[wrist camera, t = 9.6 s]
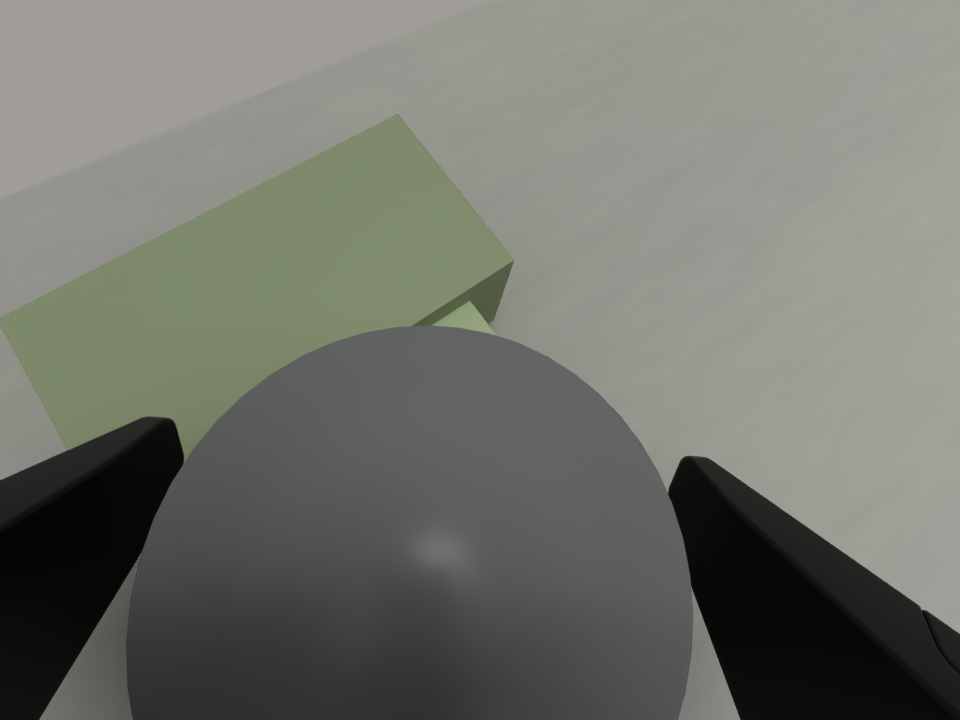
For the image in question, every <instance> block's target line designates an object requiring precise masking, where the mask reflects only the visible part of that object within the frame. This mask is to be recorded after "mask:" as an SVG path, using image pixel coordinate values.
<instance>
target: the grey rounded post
mask: <svg viewBox="0 0 960 720" xmlns="http://www.w3.org/2000/svg"><path fill="white" fill-rule="evenodd" d="M692 624H693V608H692V594H691V581H690V572H689V567H688V562H687V556H686V551H685V546H684V540H683V537H682V533H681V530H680V527H679V524H678V521H677V517H676V514H675V511H674V508H673V505H672V502H671V500H670V498H669V495H668V493H667V491H666V489H665V486H664V484H663V482H662V480H661V477H660V475H659V473H658V471H657V469H656V468H655V466H654V464H653V463H652V461H651V459H650V457H649V456H648V454H647V452H646V451H645V449H644V447H643V446H642V444H641V442H640V441H639V440H638V438H637V437H636V436H635V434H634V433H633V432H632V431H631V429H630V428H629V427H628V425H627V424H626V423H625V421H624V420H623V419H622V417H621V416H620V415H619V414H618V413H617V412H616V411H615V410H614V409H613V408H612V407H611V406H610V405H609V404H608V403H607V402H606V401H605V400H604V399H603V397H602V396H601V395H600V394H599V393H597V392H596V391H595V390H594V389H593V388H591V387H590V386H589V385H588V384H586V383H585V382H584V381H583V380H581V379H580V378H579V377H578V376H577V375H575V374H574V373H573V372H571V371H569V370H568V369H566V368H565V367H563V366H562V365H560V364H558V363H557V362H555V361H554V360H552V359H550V358H549V357H547V356H545V355H543V354H541V353H539V352H537V351H534V350H532V349H530V348H528V347H526V346H524V345H522V344H520V343H517V342H514V341H511V340H508V339H505V338H502V337H499V336H495V335H492V334H489V333H484V332H479V331H474V330H469V329H464V328H458V327H444V326H429V325H425V326H407V327H393V328H388V329H382V330H377V331H371V332H365V333H361V334H358V335H355V336H352V337H348V338H345V339H342V340H339V341H335V342H332V343H330V344H328V345H325V346H323V347H321V348H319V349H316V350H314V351H312V352H309V353H307V354H305V355H303V356H301V357H299V358H297V359H296V360H294V361H292V362H291V363H289V364H287V365H285V366H284V367H282V368H280V369H279V370H277V371H275V372H274V373H272V374H271V375H269V376H268V377H267V378H265V379H264V380H263V381H261V382H260V383H259V384H257V385H256V386H255V387H254V388H252V389H251V390H250V391H248V392H247V393H246V394H244V395H243V396H242V397H241V398H240V399H239V400H238V401H237V402H236V403H235V404H234V405H233V406H232V407H231V408H230V409H229V410H227V411H226V412H225V413H224V414H223V415H222V416H221V417H220V418H219V419H218V420H217V421H216V422H215V423H214V425H213V426H212V427H211V428H210V430H209V431H208V432H207V433H206V434H205V436H204V437H203V438H202V439H201V441H200V442H199V443H198V444H197V445H196V447H195V448H194V449H193V450H192V452H191V453H190V455H189V456H188V458H187V460H186V461H185V463H184V464H183V466H182V467H181V469H180V470H179V472H178V474H177V475H176V477H175V478H174V480H173V481H172V483H171V485H170V487H169V489H168V491H167V493H166V495H165V497H164V499H163V501H162V503H161V505H160V507H159V509H158V511H157V513H156V515H155V517H154V519H153V522H152V525H151V528H150V531H149V533H148V536H147V539H146V542H145V545H144V548H143V551H142V554H141V556H140V559H139V564H138V568H137V573H136V577H135V582H134V586H133V591H132V596H131V600H130V610H129V621H128V631H127V642H126V649H127V679H128V692H129V698H130V704H131V710H132V716H133V720H678V716H679V713H680V709H681V705H682V702H683V698H684V695H685V690H686V683H687V677H688V671H689V664H690V658H691V648H692Z"/></svg>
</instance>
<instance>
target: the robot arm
mask: <svg viewBox="0 0 960 720" xmlns="http://www.w3.org/2000/svg"><path fill="white" fill-rule="evenodd" d="M183 464H184V452H183V449H182V445H181V441H180V437H179V434H178V430H177V426H176V423H175V422H174V421H173V420H172V419H170V418H167V417H154V416H146V417H142V418H140V419H137V420H135V421H133V422H131V423H128V424H126V425H124V426H122V427H119V428H117V429H115V430H113V431H110V432H108V433H106V434H104V435H101V436H99V437H97V438H95V439H92V440H90V441H88V442H86V443H83V444H81V445H79V446H77V447H74V448H72V449H70V450H68V451H65V452H63V453H61V454H59V455H56V456H54V457H52V458H50V459H47V460H45V461H43V462H40V463H38V464H36V465H34V466H31V467H29V468H27V469H25V470H22V471H20V472H18V473H16V474H13V475H11V476H9V477H7V478H4V479H2V480H0V720H39V719H40V717H41V716H42V714H43V712H44V711H45V709H46V707H47V706H48V704H49V702H50V701H51V699H52V698H53V696H54V694H55V693H56V691H57V689H58V688H59V686H60V685H61V683H62V681H63V680H64V678H65V676H66V675H67V673H68V672H69V670H70V668H71V667H72V665H73V663H74V662H75V660H76V658H77V657H78V655H79V654H80V652H81V650H82V649H83V647H84V645H85V644H86V642H87V641H88V639H89V637H90V636H91V634H92V632H93V631H94V629H95V628H96V626H97V624H98V623H99V621H100V619H101V618H102V616H103V614H104V613H105V611H106V610H107V608H108V606H109V605H110V603H111V601H112V600H113V598H114V597H115V595H116V593H117V592H118V590H119V588H120V587H121V585H122V584H123V582H124V580H125V579H126V577H127V575H128V574H129V572H130V570H131V569H132V567H133V566H134V564H135V562H136V561H137V559H138V557H139V555H140V554H141V552H142V550H143V548H144V545H145V542H146V539H147V536H148V533H149V531H150V528H151V525H152V522H153V519H154V517H155V515H156V513H157V511H158V509H159V507H160V505H161V503H162V501H163V499H164V497H165V495H166V493H167V491H168V489H169V487H170V485H171V483H172V481H173V480H174V478H175V477H176V475H177V474H178V472H179V470H180V469H181V467H182V466H183ZM668 495H669V498H670V500H671V502H672V505H673V508H674V511H675V514H676V517H677V521H678V524H679V527H680V530H681V533H682V537H683V540H684V546H685V551H686V556H687V562H688V567H689V572H690V581H691V586H692V589H693V592H694V595H695V598H696V600H697V603H698V606H699V609H700V611H701V614H702V617H703V619H704V622H705V625H706V627H707V630H708V633H709V636H710V638H711V641H712V644H713V646H714V649H715V652H716V655H717V657H718V660H719V663H720V665H721V668H722V671H723V673H724V676H725V679H726V682H727V684H728V687H729V690H730V692H731V695H732V698H733V701H734V703H735V706H736V709H737V711H738V714H739V717H740V719H741V720H960V634H959V633H958V632H956V631H955V630H953V629H952V628H950V627H949V626H948V625H946V624H945V623H943V622H942V621H941V620H939V619H938V618H936V617H935V616H933V615H932V614H931V613H929V612H928V611H926V610H921V608H920V606H919V605H918V604H916V603H915V602H913V601H912V600H910V599H909V598H908V597H906V596H905V595H903V594H902V593H900V592H899V591H898V590H896V589H895V588H893V587H892V586H890V585H889V584H888V583H886V582H885V581H883V580H882V579H880V578H879V577H878V576H876V575H875V574H873V573H872V572H870V571H869V570H868V569H866V568H865V567H863V566H862V565H860V564H859V563H858V562H856V561H855V560H853V559H852V558H850V557H849V556H848V555H846V554H845V553H843V552H842V551H840V550H839V549H838V548H836V547H835V546H833V545H832V544H830V543H829V542H828V541H826V540H825V539H823V538H822V537H820V536H819V535H818V534H816V533H815V532H813V531H812V530H810V529H809V528H808V527H806V526H805V525H803V524H802V523H800V522H799V521H798V520H796V519H795V518H793V517H792V516H790V515H789V514H788V513H786V512H785V511H783V510H782V509H780V508H779V507H778V506H776V505H775V504H773V503H772V502H770V501H769V500H768V499H766V498H765V497H763V496H762V495H760V494H759V493H758V492H756V491H755V490H753V489H752V488H750V487H749V486H748V485H746V484H745V483H743V482H742V481H740V480H739V479H738V478H736V477H735V476H733V475H732V474H730V473H729V472H728V471H726V470H725V469H723V468H722V467H720V466H719V465H718V464H716V463H715V462H713V461H712V460H710V459H709V458H706V457H698V456H685V457H683V458H682V459H681V461H680V463H679V465H678V468H677V470H676V472H675V475H674V477H673V479H672V482H671V484H670V487H669V491H668Z"/></svg>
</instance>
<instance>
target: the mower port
mask: <svg viewBox="0 0 960 720" xmlns="http://www.w3.org/2000/svg"><path fill="white" fill-rule="evenodd" d="M513 262H514V259H513V258H512V257H511V256H510V254H509V253H508V252H507V251H506V249H505V248H504V247H503V246H502V244H501V243H500V242H499V240H498V239H497V238H496V237H495V235H494V234H493V233H492V232H491V230H490V229H489V228H488V227H487V225H486V224H485V223H484V222H483V220H482V219H481V218H480V217H479V215H478V214H477V213H476V211H475V210H474V209H473V208H472V206H471V205H470V204H469V203H468V201H467V200H466V199H465V198H464V196H463V195H462V194H461V193H460V191H459V190H458V189H457V188H456V186H455V185H454V184H453V182H452V181H451V180H450V179H449V177H448V176H447V175H446V174H445V172H444V171H443V170H442V169H441V167H440V166H439V165H438V164H437V162H436V161H435V160H434V159H433V157H432V156H431V155H430V154H429V152H428V151H427V150H426V148H425V147H424V146H423V145H422V143H421V142H420V141H419V140H418V138H417V137H416V136H415V135H414V133H413V132H412V131H411V130H410V128H409V127H408V126H407V125H406V123H405V122H404V121H403V119H402V118H401V117H400V116H399V114H396V115H394V116H392V117H391V118H389V119H387V120H385V121H383V122H381V123H379V124H377V125H375V126H373V127H371V128H369V129H367V130H365V131H363V132H361V133H359V134H357V135H355V136H353V137H352V138H350V139H348V140H346V141H344V142H342V143H340V144H338V145H336V146H334V147H332V148H330V149H328V150H326V151H324V152H322V153H320V154H318V155H316V156H315V157H313V158H311V159H309V160H307V161H305V162H303V163H301V164H299V165H297V166H295V167H293V168H291V169H289V170H287V171H285V172H283V173H281V174H279V175H277V176H276V177H274V178H272V179H270V180H268V181H266V182H264V183H262V184H260V185H258V186H256V187H254V188H252V189H250V190H248V191H246V192H244V193H242V194H240V195H238V196H237V197H235V198H233V199H231V200H229V201H227V202H225V203H223V204H221V205H219V206H217V207H215V208H213V209H211V210H209V211H207V212H205V213H203V214H201V215H200V216H198V217H196V218H194V219H192V220H190V221H188V222H186V223H184V224H182V225H180V226H178V227H176V228H174V229H172V230H170V231H168V232H166V233H164V234H162V235H161V236H159V237H157V238H155V239H153V240H151V241H149V242H147V243H145V244H143V245H141V246H139V247H137V248H135V249H133V250H131V251H129V252H127V253H125V254H123V255H122V256H120V257H118V258H116V259H114V260H112V261H110V262H108V263H106V264H104V265H102V266H100V267H98V268H96V269H94V270H92V271H90V272H88V273H86V274H84V275H83V276H81V277H79V278H77V279H75V280H73V281H71V282H69V283H67V284H65V285H63V286H61V287H59V288H57V289H55V290H53V291H51V292H49V293H47V294H46V295H44V296H42V297H40V298H38V299H36V300H34V301H32V302H30V303H28V304H26V305H24V306H22V307H20V308H18V309H16V310H14V311H12V312H10V313H8V314H7V315H5V316H3V317H1V318H0V326H1V328H2V330H3V332H4V334H5V336H6V337H7V339H8V341H9V343H10V345H11V347H12V349H13V350H14V352H15V354H16V356H17V358H18V360H19V361H20V363H21V365H22V367H23V369H24V371H25V372H26V374H27V376H28V378H29V380H30V382H31V383H32V385H33V387H34V389H35V391H36V393H37V394H38V396H39V398H40V400H41V402H42V404H43V406H44V407H45V409H46V411H47V413H48V415H49V417H50V418H51V420H52V422H53V424H54V426H55V428H56V429H57V431H58V433H59V435H60V437H61V439H62V440H63V442H64V444H65V446H66V448H67V450H70V449H72V448H74V447H77V446H79V445H81V444H83V443H86V442H88V441H90V440H92V439H95V438H97V437H99V436H101V435H104V434H106V433H108V432H110V431H113V430H115V429H117V428H119V427H122V426H124V425H126V424H128V423H131V422H133V421H135V420H137V419H140V418H142V417H146V416H154V417H167V418H170V419H172V420H173V421H174V422H175V423H176V426H177V430H178V434H179V437H180V441H181V445H182V449H183V452H184V463H185V461H186V460H187V458H188V456H189V455H190V453H191V452H192V450H193V449H194V448H195V447H196V445H197V444H198V443H199V442H200V441H201V439H202V438H203V437H204V436H205V434H206V433H207V432H208V431H209V430H210V428H211V427H212V426H213V425H214V423H215V422H216V421H217V420H218V419H219V418H220V417H221V416H222V415H223V414H224V413H225V412H226V411H227V410H229V409H230V408H231V407H232V406H233V405H234V404H235V403H236V402H237V401H238V400H239V399H240V398H241V397H242V396H243V395H244V394H246V393H247V392H248V391H250V390H251V389H252V388H254V387H255V386H256V385H257V384H259V383H260V382H261V381H263V380H264V379H265V378H267V377H268V376H269V375H271V374H272V373H274V372H275V371H277V370H279V369H280V368H282V367H284V366H285V365H287V364H289V363H291V362H292V361H294V360H296V359H297V358H299V357H301V356H303V355H305V354H307V353H309V352H312V351H314V350H316V349H319V348H321V347H323V346H325V345H328V344H330V343H332V342H335V341H339V340H342V339H345V338H348V337H352V336H355V335H358V334H361V333H365V332H371V331H377V330H382V329H388V328H393V327H407V326H425V325H429V326H444V327H458V328H464V329H469V330H474V331H479V332H484V333H489V334H492V335H495V336H496V334H495V333H494V332H493V330H492V329H491V328H490V326H489V325H488V323H489V322H491V321H492V320H494V317H495V314H496V311H497V309H498V306H499V303H500V300H501V297H502V294H503V291H504V288H505V285H506V282H507V279H508V277H509V274H510V271H511V268H512V265H513Z"/></svg>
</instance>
